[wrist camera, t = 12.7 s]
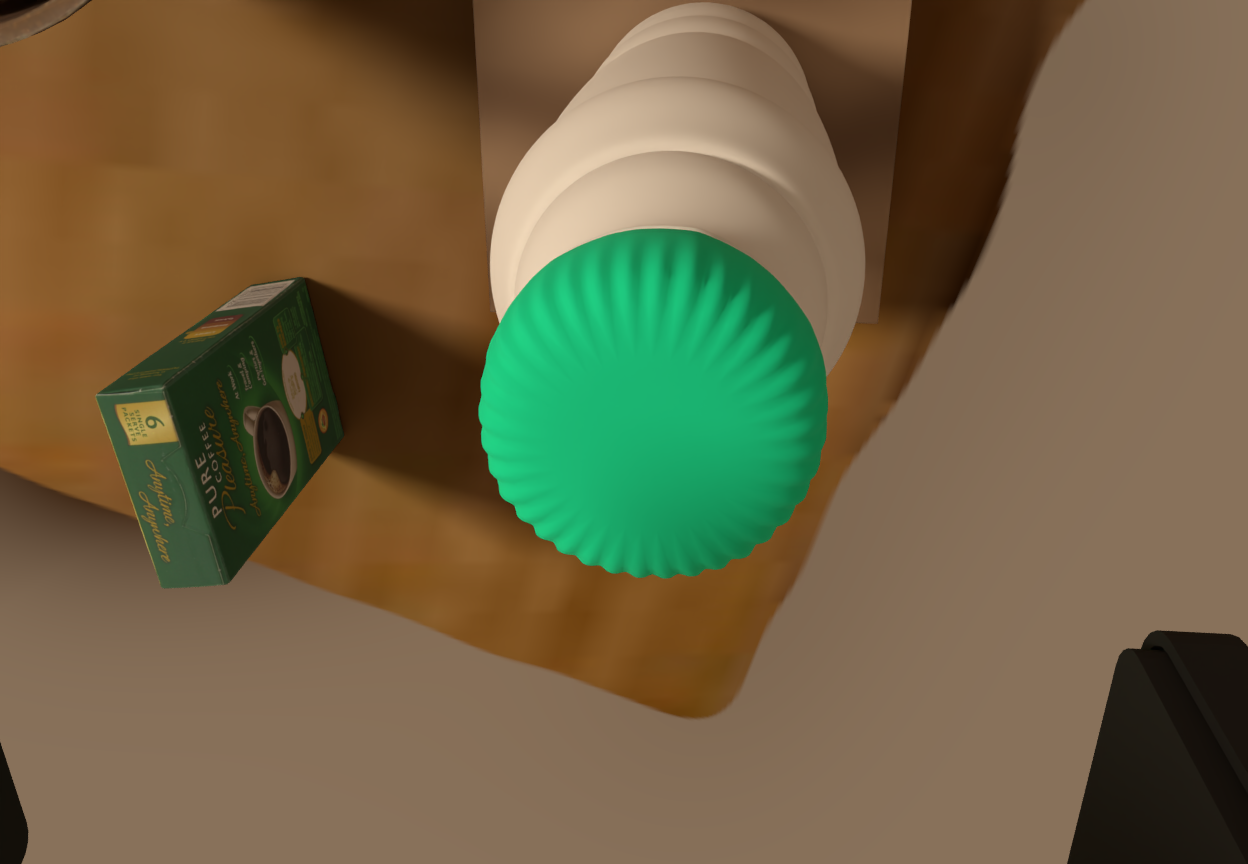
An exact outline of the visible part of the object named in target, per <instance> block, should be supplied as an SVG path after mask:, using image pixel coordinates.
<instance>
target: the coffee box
mask: <svg viewBox="0 0 1248 864" xmlns="http://www.w3.org/2000/svg"><path fill="white" fill-rule="evenodd" d="M95 397H96V400H97V403H98V406H99V409H100V411H101V414H102V418H103V420H104V423H105V426H106V428H107V431H108V434H109V437H110V440H111V443H112V446H113V449H114V451H115V454H116V457H117V460H118V463H119V466H120V469H121V472H122V475H123V478H124V481H125V484H126V487H127V490H128V492H129V495H130V498H131V501H132V504H133V507H134V510H135V513H136V516H137V518H138V521H139V524H140V527H141V530H142V533H143V536H144V539H145V542H146V545H147V547H148V550H149V553H150V555H151V558H152V562H153V564H154V567H155V570H156V573H157V576H158V578H159V582H160V585H161V587H162V588H184V587H201V586H215V585H226V584H228V583H229V582H230V581H231V580H232V579H233V578H234V576H235V575H236V574H237V572H238V571H239V570H240V568H241V567H242V566H243V565H244V563H245V562H246V561H247V559H248V558H249V557H250V556H251V554H252V553H253V552H254V551H255V549H256V548H257V547H258V545H259V544H260V543H261V542H262V541H263V539H264V538H265V537H266V535H267V534H268V533H269V531H270V530H271V529H272V527H273V526H274V525H275V524H276V523H277V521H278V520H279V519H280V518H281V516H282V515H283V514H284V512H285V511H286V510H287V508H288V507H289V506H290V505H291V503H292V502H293V501H294V500H295V498H296V497H297V496H298V494H299V493H300V492H301V491H302V489H303V488H304V487H305V485H306V484H307V483H308V482H309V480H310V479H311V478H312V476H313V475H314V474H315V473H316V471H317V470H318V469H319V467H320V466H321V465H322V464H323V462H324V461H325V460H326V458H327V457H328V456H329V455H330V453H331V452H332V451H333V450H334V448H335V447H336V446H337V444H338V443H339V442H340V441H341V439H342V438H343V437H344V432H343V428H342V425H341V420H340V417H339V410H338V406H337V401H336V397H335V394H334V393H333V390H332V386H331V382H330V379H329V375H328V370H327V366H326V362H325V358H324V354H323V350H322V346H321V342H320V338H319V334H318V330H317V325H316V321H315V317H314V313H313V309H312V306H311V303H310V298H309V294H308V291H307V286H306V283H305V279H304V278H303V277H297V278H292V279H286V280H280V281H274V282H268V283H262V284H255V285H251V286H250V287H247V288H246V289H245V290H243V291H242V292H240V293H239V294H238V295H236V296H235V297H233V298H232V299H231V300H229V301H228V302H226V303H225V304H223V305H222V306H221V307H219V308H218V309H216V310H215V311H213V312H212V313H211V314H209V315H208V316H207V317H205V318H204V319H202V320H201V321H200V322H198V323H196V324H195V325H194V326H193V327H191V328H190V329H188V330H187V331H185V332H184V333H183V334H181V335H179V336H178V337H177V338H175V339H174V340H172V341H171V342H169V343H168V344H167V345H165V346H164V347H162V348H161V349H160V350H158V351H157V352H155V353H154V354H152V355H151V356H149V357H148V358H147V359H145V360H144V361H142V362H141V363H139V364H138V365H137V366H135V367H134V368H133V369H131V370H130V371H128V372H127V373H126V374H124V375H123V376H122V377H120V378H119V379H117V380H116V381H115V382H113V383H112V384H110V385H109V386H107V387H106V388H104V389H103V390H102V391H100V392H99V393H98V394H96V396H95Z"/></svg>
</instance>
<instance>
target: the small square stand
mask: <svg viewBox="0 0 1248 864" xmlns="http://www.w3.org/2000/svg"><path fill="white" fill-rule="evenodd" d="M700 2H710V3H718V4H724V5H729V6H733V7H736V8H739V9H741V10H744V11H746V12H749V13H751V14H752V15H754V16H756V17H758V18H759V19H761V20H763V21H764V22H766V23H767V24H768V25H769V26H771V27H772V28H773V29H774V30H775V31H776V32H777V33H778V34H779V35H780V36H781V37H782V38H783V39H784V40H785V41H786V43H787V44H788V45H789V47H790V48H791V49H792V51H793V52H794V54H795V56H796V58H797V59H798V61H799V63H800V65H801V67H802V70H803V72H804V75H805V78H806V81H807V84H808V88H809V90H810V92H811V95H812V97H813V100H814V103H815V107H816V111H817V113H818V115H819V117H820V119H821V121H822V123H823V126H824V128H825V130H826V132H827V135H828V137H829V140H830V143H831V146H832V148H833V151H834V154H835V157H836V161H837V164H838V167H839V169H840V170H841V172H842V174H843V176H844V178H845V180H846V182H847V184H848V186H849V188H850V191H851V193H852V196H853V198H854V201H855V204H856V207H857V210H858V213H859V217H860V221H861V226H862V232H863V238H864V247H865V280H864V288H863V295H862V301H861V305H860V309H859V313H858V316H857V320H856V323H874V324H878V317H879V307H880V298H881V288H882V279H883V269H884V260H885V250H886V241H887V232H888V222H889V213H890V203H891V194H892V184H893V175H894V165H895V156H896V146H897V137H898V128H899V118H900V109H901V99H902V90H903V80H904V71H905V61H906V52H907V42H908V33H909V23H910V14H911V5H912V0H473V14H474V32H475V49H476V67H477V85H478V102H479V120H480V137H481V155H482V173H483V190H484V208H485V226H486V243H487V261H488V278H489V296H490V312H496V309H495V304H494V300H493V294H492V287H491V277H490V251H491V240H492V234H493V228H494V224H495V219H496V215H497V212H498V208H499V205H500V202H501V200H502V197H503V195H504V192H505V190H506V188H507V185H508V183H509V181H510V179H511V177H512V175H513V174H514V172H515V170H516V168H517V167H518V165H519V163H520V162H521V160H522V159H523V157H524V156H525V155H526V153H527V152H528V151H529V149H530V148H531V147H532V146H533V144H534V143H535V142H536V141H537V140H538V139H539V138H540V137H541V135H542V134H543V133H544V132H545V131H546V130H547V129H548V128H549V127H550V126H552V125H553V124H554V123H555V122H556V121H557V119H558V118H559V116H560V115H561V114H562V112H563V111H564V110H565V108H566V107H567V106H568V104H569V103H570V102H571V101H572V99H573V98H574V97H575V96H576V94H577V93H578V92H579V91H580V90H581V89H582V88H583V87H584V86H585V85H586V83H587V82H588V81H589V80H590V79H591V78H592V77H593V76H594V75H595V73H596V72H597V70H598V69H599V68H600V66H601V65H602V64H603V62H604V61H605V60H606V59H607V58H608V57H609V55H610V54H611V52H612V51H613V50H614V48H615V47H616V46H617V44H618V43H619V42H620V41H621V40H622V39H623V38H624V37H625V36H626V35H627V34H628V33H629V32H630V31H631V30H632V29H633V28H634V27H635V26H637V25H638V24H639V23H641V22H642V21H644V20H645V19H647V18H649V17H650V16H652V15H654V14H656V13H658V12H661V11H663V10H665V9H668V8H671V7H674V6H678V5H683V4H688V3H700Z"/></svg>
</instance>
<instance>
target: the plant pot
mask: <svg viewBox="0 0 1248 864" xmlns="http://www.w3.org/2000/svg"><path fill="white" fill-rule="evenodd" d="M90 1H91V0H0V47H1V46H4V45H7V44H11V43H14V42H17V41H19V40H22V39H25V38H28V37H30V36H32V35H35V34H37V33H40V32H42V31H44V30H46V29H48V28H50V27H52V26H54V25H56V24H58V23H60V22H62V21H64V20H66V19H67V18H68V17H70V16H71V15H72V14H74V13H75V12H77V11H78V10H79V9H81V8H82V7H84V6H85V5H86V4H87V3H89V2H90Z"/></svg>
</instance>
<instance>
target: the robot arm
mask: <svg viewBox="0 0 1248 864" xmlns="http://www.w3.org/2000/svg"><path fill="white" fill-rule="evenodd" d="M27 843H28V827H27V822H26V819H25V816H24V813H23V810H22V807H21V804H20V801H19V798H18V795H17V792H16V789H15V786H14V783H13V780H12V777H11V774H10V770H9V767H8V765H7V761H6V758H5V755H4V752H3V749H2V746H1V743H0V864H21V863H22V861H23V858H24V856H25V853H26V848H27ZM1067 864H1248V646H1247V645H1246V644H1245V643H1244V642H1243V641H1242V640H1241V639H1240V638H1239V637H1237V636H1234V635H1231V634H1216V633H1195V632H1177V631H1154V632H1152V633H1150V634H1149V635H1148V636H1147V638H1146V639H1145V640H1144V642H1143V645H1142V648H1141V649H1129V648H1128V649H1126V650H1123V652H1122V653H1121V654H1120V656H1119V658H1118V661H1117V664H1116V667H1115V671H1114V675H1113V680H1112V684H1111V688H1110V692H1109V696H1108V700H1107V704H1106V708H1105V712H1104V716H1103V720H1102V724H1101V728H1100V732H1099V736H1098V740H1097V745H1096V749H1095V753H1094V757H1093V761H1092V765H1091V769H1090V773H1089V777H1088V781H1087V785H1086V789H1085V794H1084V797H1083V801H1082V806H1081V810H1080V814H1079V818H1078V822H1077V826H1076V830H1075V834H1074V838H1073V842H1072V846H1071V850H1070V854H1069V859H1068V863H1067Z"/></svg>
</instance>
